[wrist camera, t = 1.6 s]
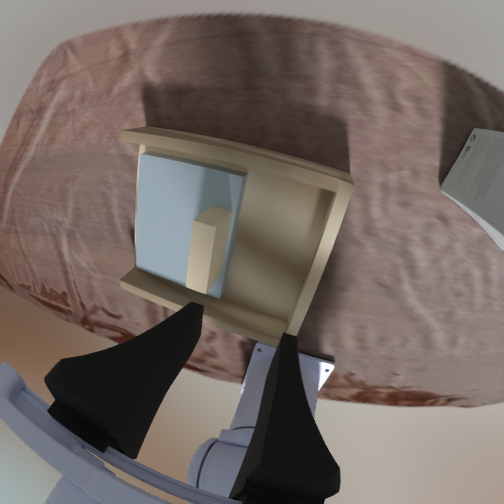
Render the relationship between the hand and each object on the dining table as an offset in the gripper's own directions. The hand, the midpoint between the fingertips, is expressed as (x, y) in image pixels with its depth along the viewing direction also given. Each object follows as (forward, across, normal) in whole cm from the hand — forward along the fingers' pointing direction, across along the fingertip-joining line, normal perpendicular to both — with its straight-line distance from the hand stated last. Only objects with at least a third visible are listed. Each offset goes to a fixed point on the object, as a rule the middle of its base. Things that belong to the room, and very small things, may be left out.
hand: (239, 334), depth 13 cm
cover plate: (+9, +7, 0) cm, 12 cm away
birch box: (+10, +4, 0) cm, 11 cm away
